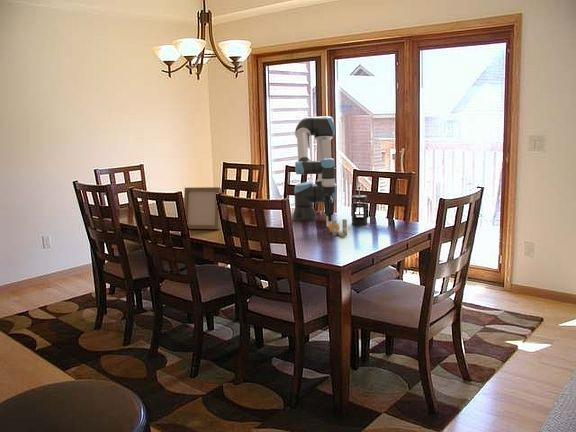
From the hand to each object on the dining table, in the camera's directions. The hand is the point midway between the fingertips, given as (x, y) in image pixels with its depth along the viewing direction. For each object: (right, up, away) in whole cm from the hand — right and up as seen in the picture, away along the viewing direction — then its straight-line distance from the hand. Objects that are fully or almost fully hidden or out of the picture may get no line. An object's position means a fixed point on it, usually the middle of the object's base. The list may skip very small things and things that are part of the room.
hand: (329, 226), depth 319 cm
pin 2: (+8, -4, -14) cm, 16 cm away
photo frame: (-74, -1, +18) cm, 76 cm away
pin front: (+4, -3, -13) cm, 13 cm away
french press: (+20, +1, +14) cm, 24 cm away
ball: (+2, 0, -9) cm, 9 cm away
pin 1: (+2, -5, -16) cm, 16 cm away
